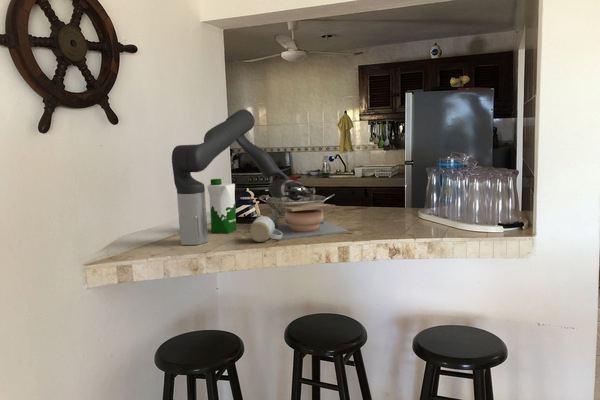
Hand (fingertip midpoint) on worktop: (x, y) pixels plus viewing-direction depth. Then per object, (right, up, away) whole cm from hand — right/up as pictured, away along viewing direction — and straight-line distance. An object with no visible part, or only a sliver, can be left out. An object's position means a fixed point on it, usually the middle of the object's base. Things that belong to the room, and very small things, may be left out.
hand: (307, 194), depth 164 cm
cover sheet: (-1, -5, +4) cm, 6 cm away
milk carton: (-32, -14, +10) cm, 36 cm away
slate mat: (-2, -13, +8) cm, 16 cm away
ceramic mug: (-14, -16, -8) cm, 22 cm away
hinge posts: (-3, -12, +13) cm, 18 cm away
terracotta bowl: (-1, -13, +6) cm, 15 cm away
